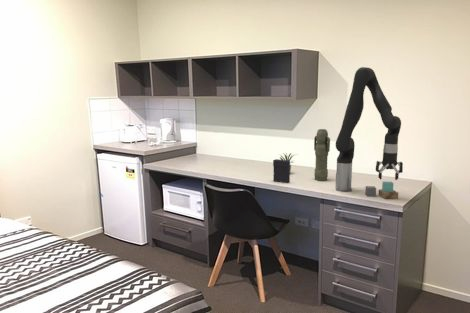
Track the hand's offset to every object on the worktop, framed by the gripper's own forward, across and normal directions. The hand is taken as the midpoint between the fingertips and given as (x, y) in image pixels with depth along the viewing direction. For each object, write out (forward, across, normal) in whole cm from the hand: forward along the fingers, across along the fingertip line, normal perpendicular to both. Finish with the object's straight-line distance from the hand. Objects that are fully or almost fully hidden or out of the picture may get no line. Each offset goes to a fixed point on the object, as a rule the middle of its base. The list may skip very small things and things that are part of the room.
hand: (388, 179), depth 221 cm
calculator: (+12, -62, +32) cm, 70 cm away
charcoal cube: (+11, -9, +3) cm, 14 cm away
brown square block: (+11, +1, 0) cm, 11 cm away
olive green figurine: (+12, -35, +41) cm, 55 cm away
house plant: (+12, -58, +60) cm, 84 cm away
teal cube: (+7, 0, 0) cm, 7 cm away
